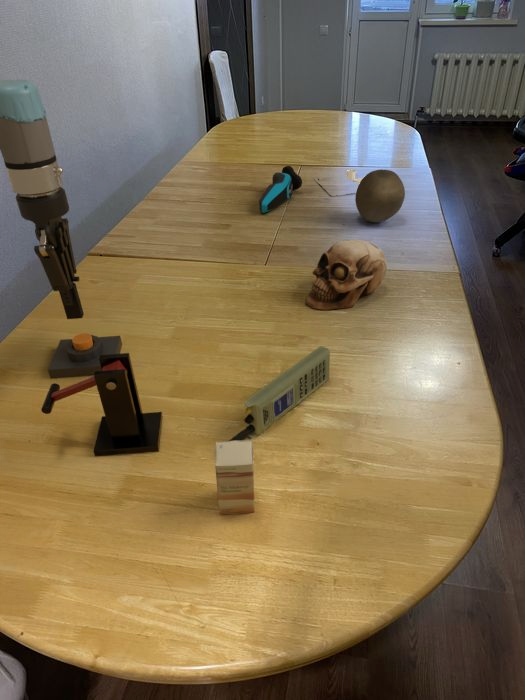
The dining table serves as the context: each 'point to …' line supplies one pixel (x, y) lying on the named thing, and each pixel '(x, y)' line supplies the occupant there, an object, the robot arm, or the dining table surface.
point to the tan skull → (346, 274)
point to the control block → (82, 357)
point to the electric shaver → (280, 189)
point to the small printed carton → (235, 476)
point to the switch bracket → (123, 412)
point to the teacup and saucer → (352, 176)
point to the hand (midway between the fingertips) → (75, 316)
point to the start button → (82, 342)
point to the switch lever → (73, 388)
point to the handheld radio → (285, 392)
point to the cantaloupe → (379, 195)
